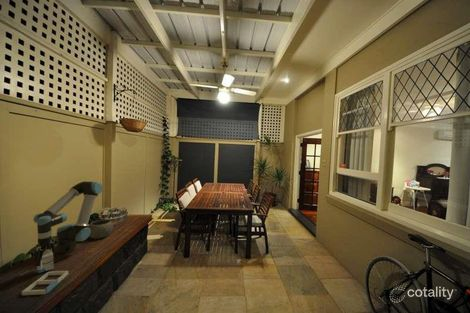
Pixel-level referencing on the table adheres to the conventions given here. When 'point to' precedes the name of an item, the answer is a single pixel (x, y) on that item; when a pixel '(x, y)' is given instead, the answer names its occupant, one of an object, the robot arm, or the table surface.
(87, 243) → the table surface
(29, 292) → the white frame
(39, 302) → the table surface
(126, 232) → the table surface
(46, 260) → the ink box
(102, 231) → the bowl
